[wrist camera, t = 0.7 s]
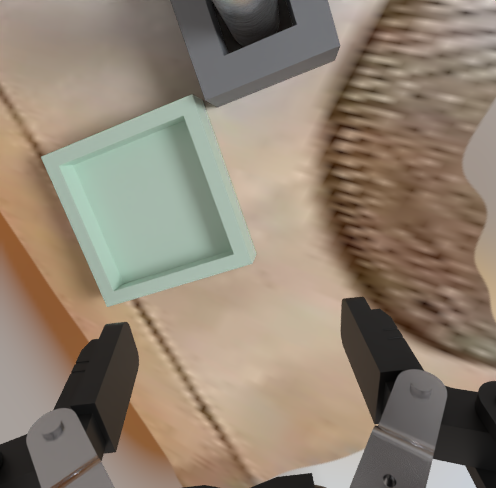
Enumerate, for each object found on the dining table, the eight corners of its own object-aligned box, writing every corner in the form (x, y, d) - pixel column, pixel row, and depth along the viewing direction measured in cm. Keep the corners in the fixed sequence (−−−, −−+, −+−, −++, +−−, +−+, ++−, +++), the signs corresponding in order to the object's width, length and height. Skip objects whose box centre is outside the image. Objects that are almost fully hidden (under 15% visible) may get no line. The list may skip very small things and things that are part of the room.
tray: (63, 156, 34) (40, 156, 31) (202, 99, 31) (192, 94, 28) (122, 294, 36) (107, 307, 33) (256, 254, 33) (252, 263, 30)
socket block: (173, -19, 29) (154, -46, 25) (295, -79, 27) (295, -118, 23) (217, 107, 31) (205, 100, 27) (334, 60, 29) (340, 45, 25)
